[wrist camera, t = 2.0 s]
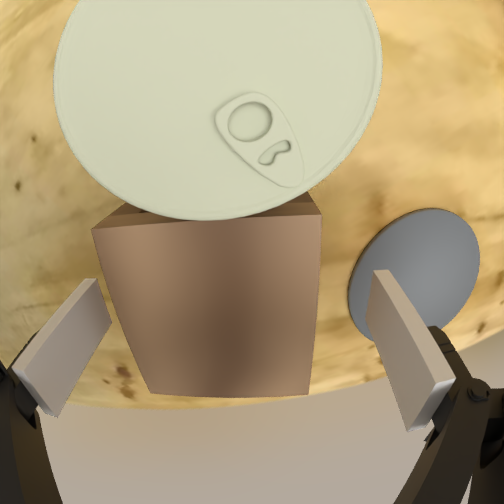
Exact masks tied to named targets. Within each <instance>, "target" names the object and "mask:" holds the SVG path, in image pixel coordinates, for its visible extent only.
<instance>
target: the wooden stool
mask: <svg viewBox="0 0 504 504" xmlns="http://www.w3.org/2000/svg"><path fill="white" fill-rule="evenodd" d="M321 228H322V214H321V213H320V211H319V209H318V208H317V206H316V205H315V203H314V201H313V200H312V198H311V197H310V195H309V193H308V192H307V191H306V192H305V193H303V194H301V195H299V196H297V197H296V198H294V199H292V200H290V201H288V202H286V203H284V204H282V205H280V206H277V207H274V208H271V209H269V210H266V211H263V212H260V213H256V214H252V215H249V216H245V217H239V218H233V219H227V220H212V221H199V220H183V219H176V218H171V217H167V216H162V215H159V214H155V213H152V212H149V211H146V210H144V209H141V208H138V207H136V206H134V205H132V204H129V203H127V202H126V203H125V204H123V205H122V206H121V207H119V208H118V209H117V210H115V211H114V212H113V213H111V214H110V215H109V216H108V217H106V218H105V219H104V220H102V221H101V222H100V223H99V224H97V225H96V226H95V227H94V228H92V229H91V231H92V235H93V239H94V243H95V247H96V250H97V254H98V257H99V261H100V264H101V268H102V271H103V274H104V277H105V281H106V284H107V287H108V290H109V293H110V296H111V299H112V302H113V305H114V307H115V310H116V313H117V316H118V319H119V321H120V324H121V326H122V329H123V332H124V334H125V337H126V339H127V342H128V344H129V347H130V349H131V351H132V354H133V356H134V358H135V361H136V363H137V365H138V368H139V370H140V372H141V374H142V376H143V379H144V381H145V383H146V385H147V387H148V389H149V391H150V393H154V394H164V395H177V396H193V397H223V398H250V397H280V396H296V395H308V393H309V385H310V377H311V369H312V360H313V350H314V340H315V329H316V317H317V305H318V290H319V274H320V254H321Z"/></svg>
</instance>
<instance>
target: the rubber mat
mask: <svg viewBox="0 0 504 504" xmlns="http://www.w3.org/2000/svg"><path fill="white" fill-rule="evenodd" d="M479 265H480V252H479V246H478V241H477V239H476V236H475V234H474V232H473V230H472V229H471V227H470V226H469V225H468V224H467V223H466V222H465V221H464V220H463V219H462V218H460V217H459V216H457V215H456V214H454V213H452V212H450V211H447V210H443V209H437V208H427V209H421V210H416V211H413V212H410V213H408V214H405V215H403V216H401V217H399V218H398V219H396V220H394V221H393V222H391V223H390V224H389V225H387V226H386V227H385V228H384V229H382V230H381V231H380V232H379V233H378V234H377V235H376V236H375V237H374V238H373V239H372V240H371V241H370V243H369V244H368V245H367V247H366V248H365V249H364V251H363V253H362V254H361V256H360V258H359V259H358V261H357V263H356V265H355V268H354V270H353V273H352V276H351V279H350V284H349V289H348V304H349V309H350V313H351V316H352V318H353V321H354V323H355V325H356V327H357V328H358V329H359V331H360V332H361V333H362V334H363V335H364V336H365V337H367V338H368V339H370V340H372V341H374V340H373V337H372V335H371V332H370V330H369V328H368V325H367V323H366V320H365V317H366V311H367V306H368V300H369V295H370V289H371V282H372V276H373V270H389V271H390V272H391V274H392V275H393V277H394V278H395V280H396V281H397V282H398V284H399V285H400V287H401V288H402V290H403V291H404V293H405V294H406V296H407V297H408V299H409V300H410V302H411V303H412V305H413V306H414V308H415V309H416V311H417V312H418V314H419V316H420V317H421V319H422V320H423V322H424V324H425V325H426V327H428V326H435V325H436V326H437V327H438V328H439V329H442V328H443V327H444V326H445V325H447V324H448V323H449V322H450V321H451V320H452V319H453V318H454V317H455V316H456V315H457V314H458V312H459V311H460V310H461V309H462V307H463V306H464V305H465V303H466V301H467V300H468V298H469V296H470V294H471V292H472V290H473V288H474V285H475V283H476V280H477V276H478V272H479Z"/></svg>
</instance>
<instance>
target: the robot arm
mask: <svg viewBox="0 0 504 504" xmlns="http://www.w3.org/2000/svg"><path fill="white" fill-rule="evenodd" d="M365 320H366V323H367V325H368V328H369V330H370V332H371V335H372V337H373V340H374V342H375V345H376V347H377V350H378V352H379V355H380V357H381V360H382V363H383V365H384V368H385V370H386V373H387V376H388V378H389V381H390V384H391V387H392V389H393V392H394V395H395V398H396V401H397V403H398V406H399V409H400V412H401V415H402V418H403V421H404V424H405V427H406V431H407V432H409V431H413V430H417V429H421V428H424V427H426V426H427V424H428V423H429V421H430V420H431V418H432V420H433V423H434V428H433V429H432V431H431V432H430V433H429V435H428V436H427V437H426V439H425V440H424V441H427V442H426V444H425V447H424V449H423V451H422V453H421V455H420V457H419V459H418V461H417V463H416V465H415V467H414V469H413V471H412V473H411V474H410V476H409V478H408V480H407V482H406V484H405V485H404V487H403V489H402V490H401V492H400V494H399V495H398V497H397V499H396V500H395V502H394V504H460V503H461V501H462V499H463V496H464V494H465V491H466V489H467V486H468V484H469V481H470V479H471V476H472V481H471V488H470V494H469V499H468V504H504V388H502V389H490V387H489V386H488V384H486V382H484V381H482V380H480V379H475V378H472V377H471V374H470V373H469V371H468V369H467V368H466V366H465V364H464V363H463V361H462V359H461V358H460V356H459V354H458V353H457V351H455V348H454V346H453V345H452V344H451V341H450V340H449V338H448V337H447V335H446V334H445V332H443V331H442V330H441V329H439V328H438V327H437V326H436V325H435V326H428V327H426V325H425V324H424V322H423V320H422V319H421V317H420V316H419V314H418V312H417V311H416V309H415V308H414V306H413V305H412V303H411V302H410V300H409V299H408V297H407V296H406V294H405V293H404V291H403V290H402V288H401V287H400V285H399V284H398V282H397V281H396V280H395V278H394V277H393V275H392V274H391V272H390V271H389V270H373V276H372V282H371V289H370V295H369V300H368V306H367V311H366V317H365ZM111 324H112V320H111V318H110V315H109V313H108V310H107V307H106V304H105V301H104V299H103V296H102V293H101V290H100V287H99V284H98V281H97V278H85V279H84V280H83V281H82V282H81V283H80V284H79V286H78V287H77V288H76V289H75V290H74V291H73V292H72V293H71V294H70V296H69V297H68V298H67V299H66V300H65V301H64V302H63V303H62V305H61V306H60V307H59V308H58V309H57V310H56V312H55V313H54V314H53V315H52V316H51V317H50V319H49V320H48V321H47V322H46V323H45V325H44V326H43V327H42V328H41V329H40V330H39V331H38V332H36V333H35V334H34V335H33V336H32V337H31V339H30V340H29V341H28V344H26V345H25V346H24V347H23V350H21V351H20V353H19V354H18V355H17V357H16V358H15V359H14V361H13V362H12V363H11V365H10V366H9V367H8V369H7V370H6V368H5V367H4V365H3V364H2V362H1V361H0V504H63V503H62V500H61V497H60V494H59V491H58V488H57V485H56V482H55V479H54V477H53V473H52V469H51V466H50V462H49V458H48V455H47V450H46V446H45V442H44V438H43V433H42V428H41V423H40V417H39V414H38V412H37V410H36V407H37V406H38V405H39V406H40V407H41V409H42V410H43V411H44V412H45V413H46V414H49V415H51V416H54V417H58V416H59V414H60V412H61V410H62V408H63V406H64V405H65V403H66V401H67V399H68V397H69V395H70V393H71V392H72V390H73V388H74V386H75V384H76V382H77V381H78V379H79V377H80V375H81V374H82V372H83V370H84V368H85V367H86V365H87V363H88V361H89V360H90V358H91V356H92V355H93V353H94V351H95V350H96V348H97V346H98V345H99V343H100V341H101V340H102V338H103V336H104V335H105V333H106V332H107V330H108V328H109V327H110V325H111Z"/></svg>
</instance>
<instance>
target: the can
mask: <svg viewBox="0 0 504 504" xmlns="http://www.w3.org/2000/svg"><path fill="white" fill-rule="evenodd" d="M382 68H383V62H382V47H381V41H380V36H379V31H378V28H377V25H376V21H375V19H374V16H373V14H372V11H371V9H370V7H369V5H368V3H367V2H366V0H80V1H79V2H78V4H77V5H76V7H75V8H74V10H73V12H72V14H71V16H70V17H69V19H68V21H67V23H66V26H65V28H64V30H63V33H62V36H61V39H60V42H59V46H58V50H57V53H56V57H55V65H54V74H53V92H54V101H55V108H56V113H57V117H58V120H59V124H60V127H61V129H62V132H63V134H64V137H65V139H66V141H67V143H68V145H69V147H70V148H71V150H72V152H73V154H74V155H75V157H76V158H77V159H78V161H79V162H80V163H81V165H82V166H83V167H84V169H85V170H86V171H87V172H88V173H89V174H90V175H91V176H92V177H93V178H94V179H95V180H96V181H97V182H98V183H99V184H101V185H102V186H103V187H104V188H106V189H107V190H108V191H110V192H111V193H113V194H114V195H116V196H117V197H119V198H121V199H122V200H124V201H126V202H127V203H129V204H132V205H134V206H136V207H138V208H141V209H144V210H146V211H149V212H152V213H155V214H159V215H162V216H167V217H171V218H176V219H183V220H199V221H212V220H227V219H233V218H239V217H245V216H249V215H252V214H256V213H260V212H263V211H266V210H269V209H271V208H274V207H277V206H280V205H282V204H284V203H286V202H288V201H290V200H292V199H294V198H296V197H297V196H299V195H301V194H303V193H305V192H306V191H308V190H309V189H311V188H312V187H314V186H315V185H316V184H318V183H319V182H320V181H322V180H323V179H324V178H326V177H327V176H328V175H329V174H330V173H331V172H332V171H333V170H335V169H336V168H337V167H338V166H339V165H340V164H341V162H342V161H343V160H344V159H345V158H346V157H347V156H348V155H349V153H350V152H351V151H352V149H353V148H354V147H355V145H356V144H357V142H358V141H359V139H360V138H361V136H362V135H363V133H364V131H365V129H366V127H367V125H368V123H369V121H370V119H371V117H372V114H373V112H374V109H375V106H376V103H377V100H378V96H379V91H380V86H381V81H382Z"/></svg>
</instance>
